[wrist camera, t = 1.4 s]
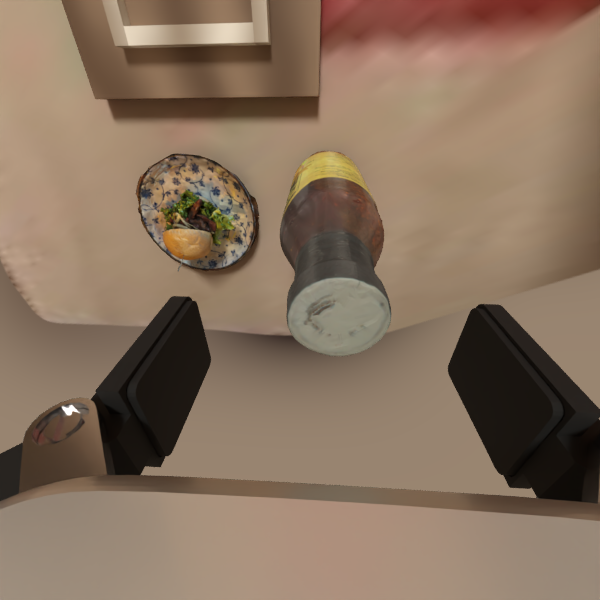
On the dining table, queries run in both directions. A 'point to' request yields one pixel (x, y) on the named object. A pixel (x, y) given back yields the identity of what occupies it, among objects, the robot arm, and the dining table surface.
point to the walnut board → (198, 47)
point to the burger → (197, 211)
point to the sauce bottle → (334, 258)
